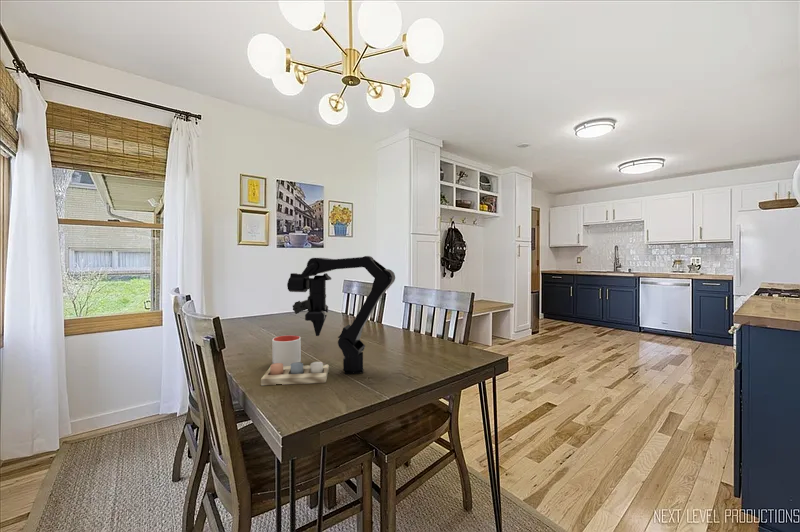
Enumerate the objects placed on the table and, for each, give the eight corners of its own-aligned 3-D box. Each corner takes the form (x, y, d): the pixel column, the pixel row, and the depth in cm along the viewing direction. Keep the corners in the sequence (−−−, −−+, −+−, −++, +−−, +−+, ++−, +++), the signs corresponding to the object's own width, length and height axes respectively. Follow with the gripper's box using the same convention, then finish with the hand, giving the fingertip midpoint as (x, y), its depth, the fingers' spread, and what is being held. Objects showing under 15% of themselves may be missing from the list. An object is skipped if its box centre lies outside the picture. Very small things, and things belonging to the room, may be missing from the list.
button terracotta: (284, 374, 116) (284, 362, 116) (281, 378, 112) (281, 366, 112) (272, 374, 116) (272, 363, 116) (269, 379, 112) (269, 367, 112)
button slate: (303, 373, 117) (303, 362, 117) (302, 377, 113) (302, 365, 113) (291, 374, 117) (291, 362, 117) (289, 378, 113) (289, 366, 113)
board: (328, 370, 122) (328, 364, 122) (325, 382, 110) (325, 376, 110) (270, 372, 120) (270, 366, 120) (261, 385, 108) (260, 379, 108)
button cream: (323, 372, 118) (323, 361, 118) (322, 377, 114) (322, 365, 114) (311, 373, 118) (311, 361, 117) (309, 377, 114) (309, 365, 113)
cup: (292, 370, 122) (292, 342, 122) (267, 368, 124) (266, 340, 124) (305, 361, 132) (305, 335, 132) (281, 359, 134) (281, 334, 134)
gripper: (298, 290, 131) (298, 330, 131) (289, 295, 112) (289, 343, 113) (328, 289, 132) (328, 329, 133) (323, 295, 114) (323, 342, 114)
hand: (317, 335), depth 123 cm, fingers closed
